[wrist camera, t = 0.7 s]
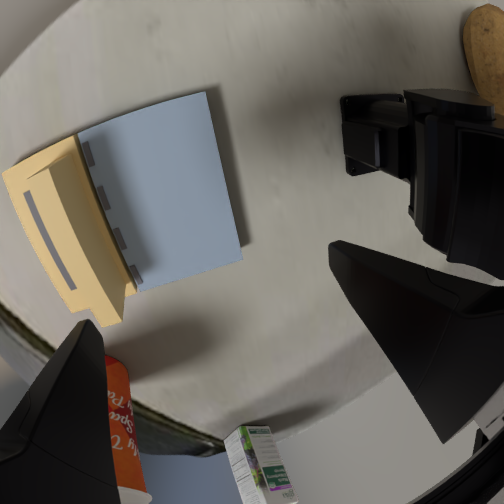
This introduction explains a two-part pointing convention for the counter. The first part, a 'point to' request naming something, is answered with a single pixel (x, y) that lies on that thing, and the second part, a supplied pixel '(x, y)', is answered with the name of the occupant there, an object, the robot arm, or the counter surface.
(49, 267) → the stub
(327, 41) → the counter surface
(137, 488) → the coffee cup
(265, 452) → the syrup box
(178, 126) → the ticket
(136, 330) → the counter surface
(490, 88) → the potato
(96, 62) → the counter surface
